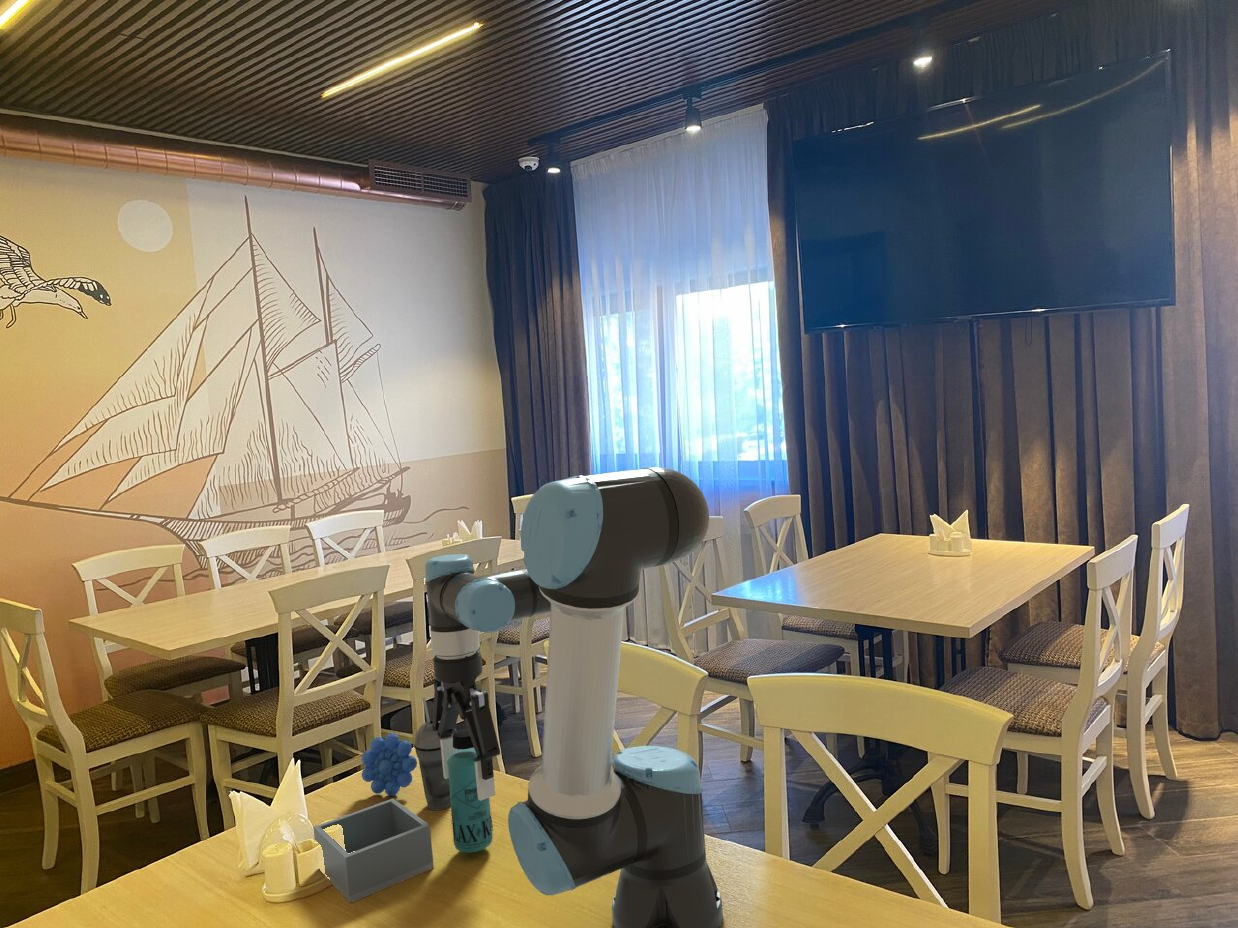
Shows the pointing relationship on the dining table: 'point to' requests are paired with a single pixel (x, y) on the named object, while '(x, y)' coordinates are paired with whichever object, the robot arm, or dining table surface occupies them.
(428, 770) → the beverage cup
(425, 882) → the dining table surface
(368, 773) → the grapes
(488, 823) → the beverage bottle
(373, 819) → the crate
